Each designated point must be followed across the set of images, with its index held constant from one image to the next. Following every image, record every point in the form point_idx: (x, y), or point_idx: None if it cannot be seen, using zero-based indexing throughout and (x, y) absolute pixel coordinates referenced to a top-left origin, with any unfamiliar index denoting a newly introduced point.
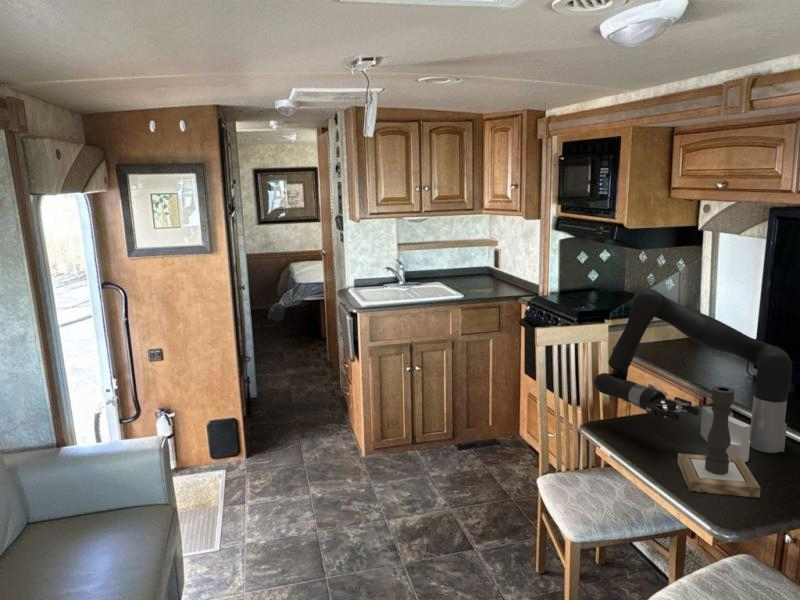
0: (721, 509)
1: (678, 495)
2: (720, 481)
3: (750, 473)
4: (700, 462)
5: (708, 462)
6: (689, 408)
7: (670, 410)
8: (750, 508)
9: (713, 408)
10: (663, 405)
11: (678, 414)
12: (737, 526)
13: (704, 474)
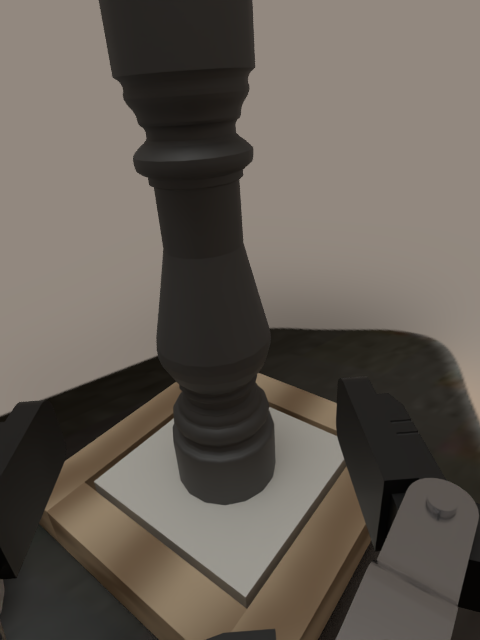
0: (372, 377)
1: (474, 461)
2: (296, 404)
3: (144, 407)
4: (232, 538)
5: (273, 435)
6: (8, 505)
7: (381, 469)
8: (289, 363)
9: (240, 144)
10: (437, 603)
11: (352, 378)
12: (384, 335)
13: (312, 454)
